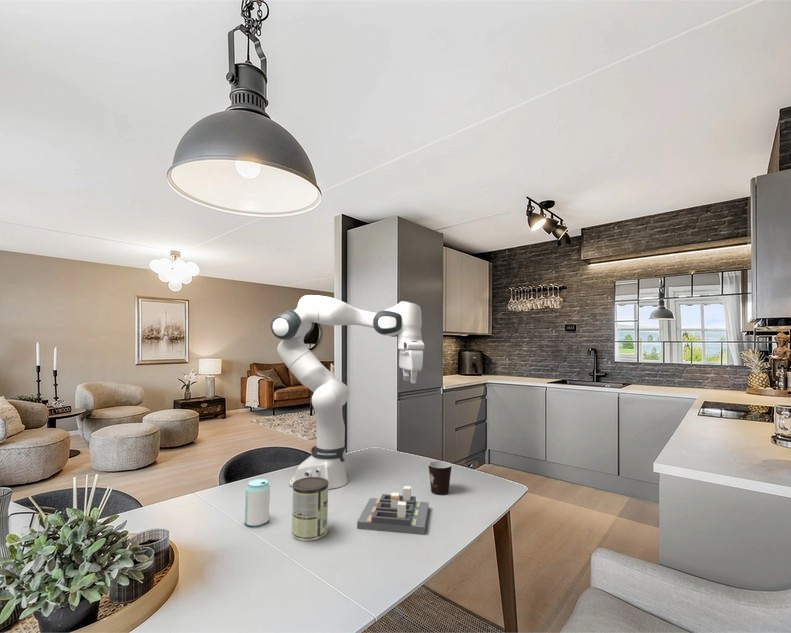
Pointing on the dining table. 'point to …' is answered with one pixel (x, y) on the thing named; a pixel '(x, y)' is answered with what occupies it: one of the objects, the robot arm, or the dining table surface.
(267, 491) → the can
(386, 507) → the panel
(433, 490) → the coffee mug
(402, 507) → the breaker near
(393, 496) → the block
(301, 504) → the coffee can
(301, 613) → the dining table surface
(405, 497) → the block
